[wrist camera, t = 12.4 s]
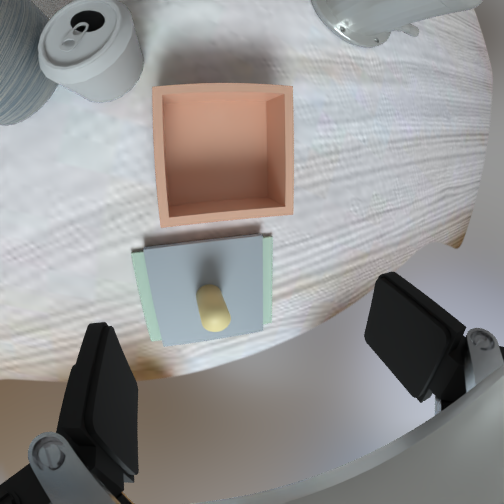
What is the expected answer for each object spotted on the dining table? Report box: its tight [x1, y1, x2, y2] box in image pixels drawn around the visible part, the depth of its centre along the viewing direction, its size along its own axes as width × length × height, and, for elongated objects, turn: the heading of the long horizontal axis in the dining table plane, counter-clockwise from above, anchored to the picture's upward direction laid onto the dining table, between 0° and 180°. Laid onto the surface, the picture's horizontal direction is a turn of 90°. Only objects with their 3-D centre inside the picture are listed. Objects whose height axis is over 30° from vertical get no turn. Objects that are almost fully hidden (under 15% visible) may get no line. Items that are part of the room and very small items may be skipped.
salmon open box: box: [152, 83, 294, 228], centre depth 25 cm, size 12×12×6 cm
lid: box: [143, 234, 263, 347], centre depth 30 cm, size 13×13×6 cm
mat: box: [131, 236, 273, 341], centre depth 33 cm, size 16×12×1 cm
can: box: [38, 0, 144, 103], centre depth 16 cm, size 8×8×12 cm
